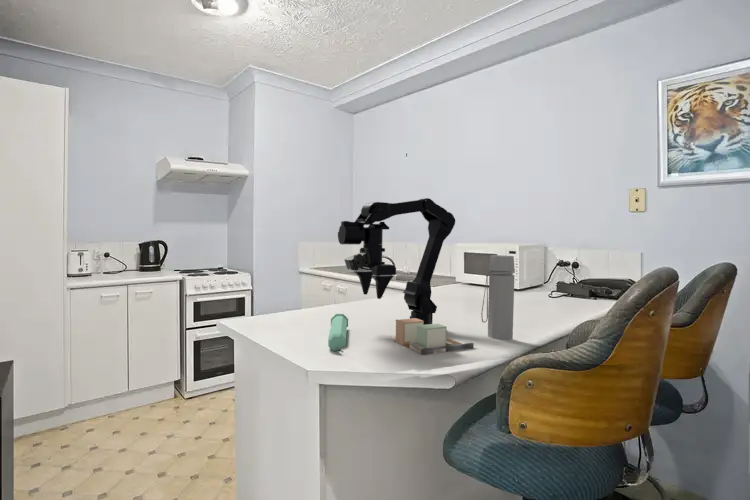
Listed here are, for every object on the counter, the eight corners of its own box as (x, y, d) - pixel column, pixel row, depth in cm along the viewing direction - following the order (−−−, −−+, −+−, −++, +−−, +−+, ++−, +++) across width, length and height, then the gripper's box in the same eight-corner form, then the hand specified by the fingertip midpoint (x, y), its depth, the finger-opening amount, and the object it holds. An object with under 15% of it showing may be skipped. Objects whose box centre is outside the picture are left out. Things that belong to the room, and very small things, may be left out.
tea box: (416, 348, 110) (416, 325, 110) (437, 345, 113) (437, 323, 113) (425, 352, 106) (425, 328, 106) (446, 349, 109) (446, 326, 109)
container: (343, 329, 109) (344, 310, 134) (322, 338, 109) (327, 317, 134) (351, 350, 110) (351, 327, 135) (330, 358, 110) (334, 334, 135)
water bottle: (514, 338, 126) (516, 255, 125) (511, 345, 119) (513, 256, 118) (483, 335, 130) (485, 254, 129) (478, 341, 123) (480, 255, 122)
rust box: (395, 341, 116) (396, 319, 116) (415, 339, 119) (415, 318, 119) (403, 345, 113) (403, 322, 113) (423, 342, 116) (424, 320, 115)
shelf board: (441, 339, 124) (441, 330, 124) (473, 352, 111) (474, 342, 111) (393, 345, 117) (394, 335, 117) (422, 359, 104) (423, 349, 104)
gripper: (336, 243, 131) (335, 293, 131) (361, 245, 114) (361, 303, 115) (368, 243, 136) (367, 291, 136) (397, 245, 119) (396, 300, 120)
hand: (372, 296), depth 127 cm, fingers open, 9 cm apart
